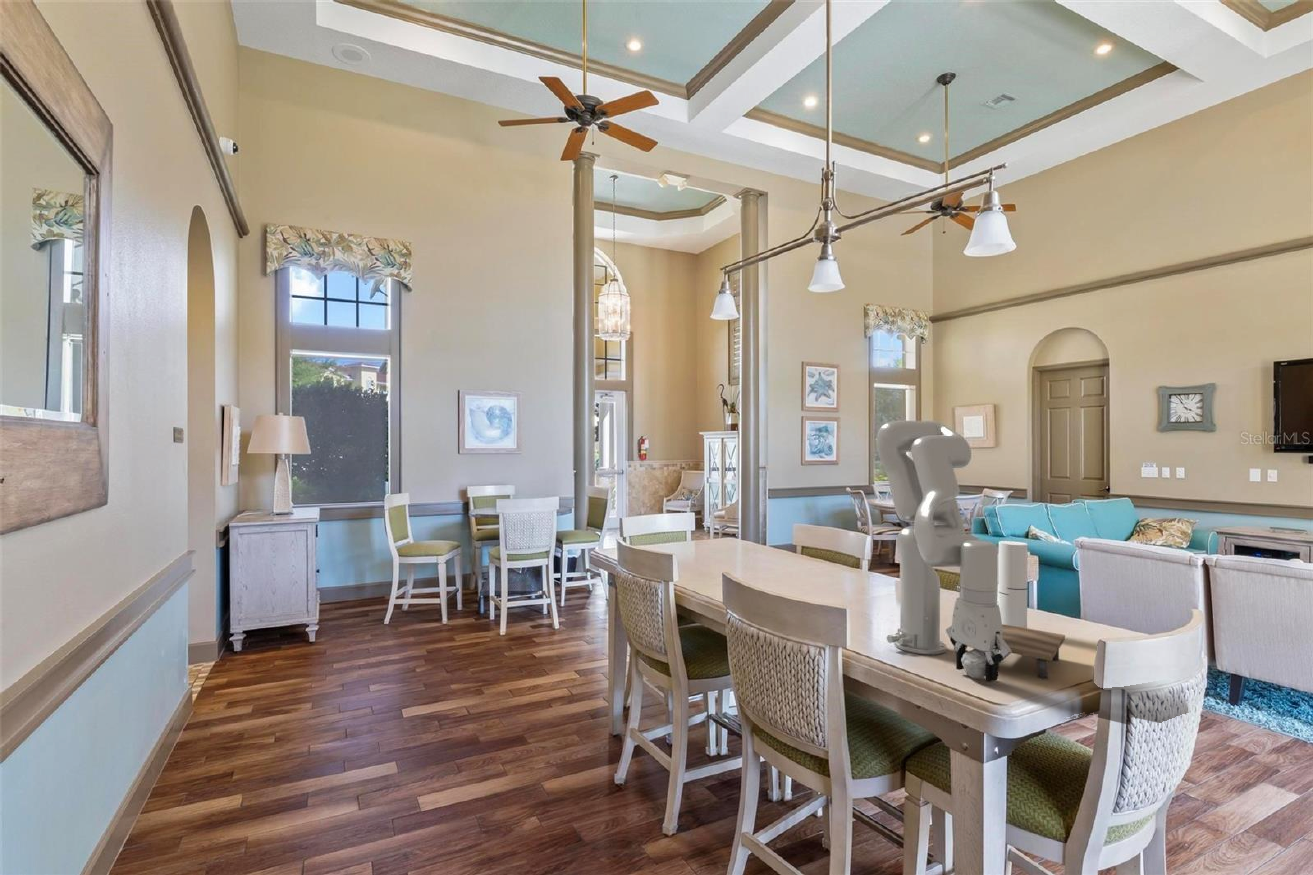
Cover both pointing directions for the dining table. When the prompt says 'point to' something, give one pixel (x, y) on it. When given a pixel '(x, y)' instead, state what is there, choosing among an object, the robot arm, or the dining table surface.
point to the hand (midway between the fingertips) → (976, 673)
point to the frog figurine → (974, 663)
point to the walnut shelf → (1033, 645)
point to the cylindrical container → (1013, 583)
